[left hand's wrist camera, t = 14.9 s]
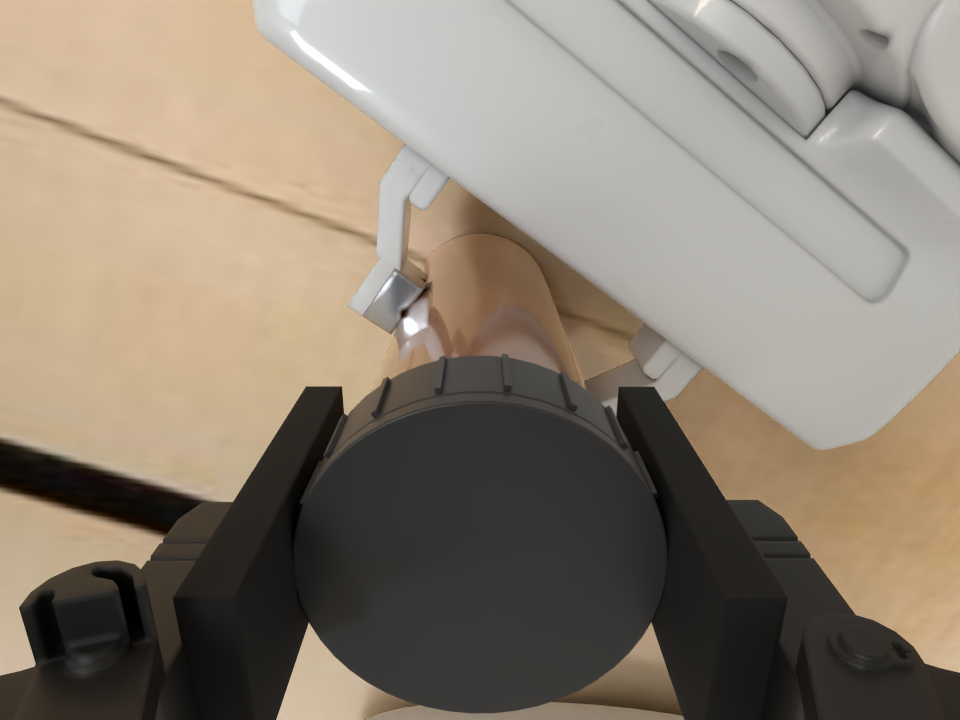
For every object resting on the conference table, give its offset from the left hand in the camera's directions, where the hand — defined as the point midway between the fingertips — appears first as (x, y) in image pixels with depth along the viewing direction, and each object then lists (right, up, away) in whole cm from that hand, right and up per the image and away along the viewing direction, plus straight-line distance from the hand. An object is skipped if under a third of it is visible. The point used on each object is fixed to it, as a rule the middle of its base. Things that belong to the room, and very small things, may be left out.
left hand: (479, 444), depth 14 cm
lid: (0, -1, -4) cm, 4 cm away
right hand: (0, +1, +6) cm, 6 cm away
